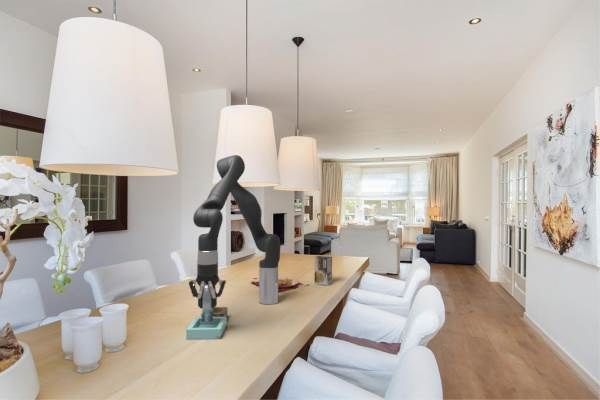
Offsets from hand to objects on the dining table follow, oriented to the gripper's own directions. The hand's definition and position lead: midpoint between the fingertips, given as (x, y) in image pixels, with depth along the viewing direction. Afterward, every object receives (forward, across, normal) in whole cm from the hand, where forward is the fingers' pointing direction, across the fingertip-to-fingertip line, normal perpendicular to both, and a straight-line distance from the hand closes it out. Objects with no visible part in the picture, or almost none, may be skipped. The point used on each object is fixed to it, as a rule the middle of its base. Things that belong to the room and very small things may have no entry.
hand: (207, 307), depth 127 cm
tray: (+9, 0, 0) cm, 9 cm away
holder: (+9, 0, -13) cm, 16 cm away
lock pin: (+5, 0, 0) cm, 5 cm away
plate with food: (+10, -26, -73) cm, 78 cm away
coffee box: (+9, -52, -74) cm, 91 cm away
